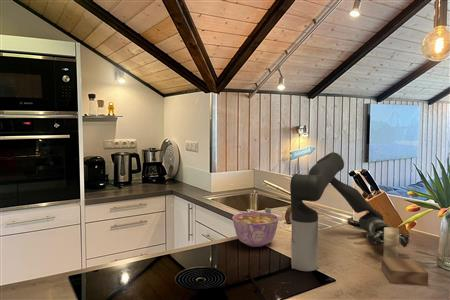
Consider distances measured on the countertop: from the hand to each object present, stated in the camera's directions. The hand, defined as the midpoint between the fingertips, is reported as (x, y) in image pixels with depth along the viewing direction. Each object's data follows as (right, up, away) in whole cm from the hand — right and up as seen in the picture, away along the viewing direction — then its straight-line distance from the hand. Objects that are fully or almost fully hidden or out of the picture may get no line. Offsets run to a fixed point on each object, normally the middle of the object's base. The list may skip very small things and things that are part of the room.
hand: (392, 243), depth 127 cm
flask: (-40, -5, +45) cm, 60 cm away
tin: (-25, -4, +57) cm, 62 cm away
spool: (0, -7, +2) cm, 7 cm away
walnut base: (-2, -8, -11) cm, 14 cm away
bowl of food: (-48, -6, +23) cm, 54 cm away
